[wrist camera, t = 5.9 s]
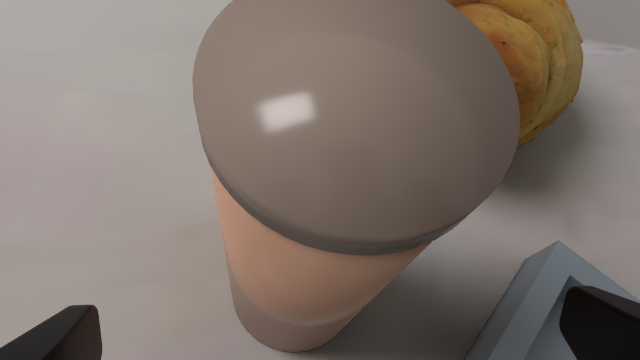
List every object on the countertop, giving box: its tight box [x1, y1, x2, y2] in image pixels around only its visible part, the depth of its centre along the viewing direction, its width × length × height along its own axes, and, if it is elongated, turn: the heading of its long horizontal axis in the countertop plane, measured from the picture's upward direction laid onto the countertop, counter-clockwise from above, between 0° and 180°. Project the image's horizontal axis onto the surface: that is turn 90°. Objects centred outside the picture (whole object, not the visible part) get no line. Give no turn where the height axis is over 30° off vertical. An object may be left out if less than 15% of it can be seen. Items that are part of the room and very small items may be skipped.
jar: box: [193, 0, 520, 352], centre depth 13 cm, size 5×5×13 cm
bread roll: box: [445, 0, 583, 146], centre depth 22 cm, size 13×10×8 cm
